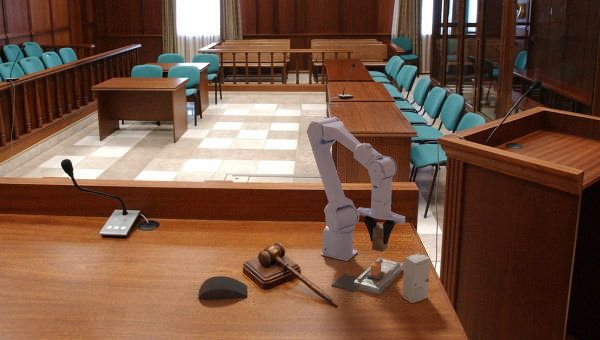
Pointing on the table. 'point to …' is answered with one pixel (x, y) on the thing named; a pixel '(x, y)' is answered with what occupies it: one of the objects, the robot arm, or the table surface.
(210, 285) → the computer mouse
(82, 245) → the table surface
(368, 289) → the breaker panel
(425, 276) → the skincare box
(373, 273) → the lever
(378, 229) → the brown rectangular block
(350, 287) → the rubber pad
